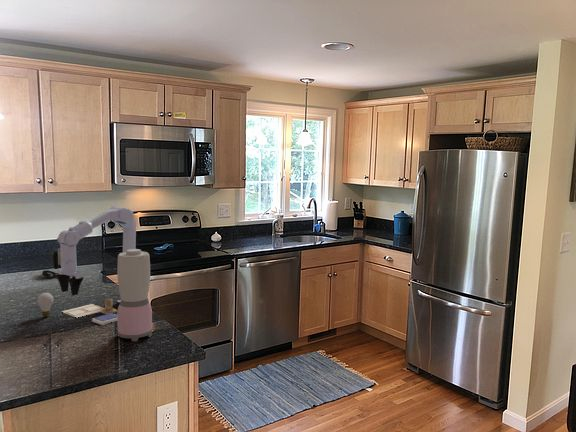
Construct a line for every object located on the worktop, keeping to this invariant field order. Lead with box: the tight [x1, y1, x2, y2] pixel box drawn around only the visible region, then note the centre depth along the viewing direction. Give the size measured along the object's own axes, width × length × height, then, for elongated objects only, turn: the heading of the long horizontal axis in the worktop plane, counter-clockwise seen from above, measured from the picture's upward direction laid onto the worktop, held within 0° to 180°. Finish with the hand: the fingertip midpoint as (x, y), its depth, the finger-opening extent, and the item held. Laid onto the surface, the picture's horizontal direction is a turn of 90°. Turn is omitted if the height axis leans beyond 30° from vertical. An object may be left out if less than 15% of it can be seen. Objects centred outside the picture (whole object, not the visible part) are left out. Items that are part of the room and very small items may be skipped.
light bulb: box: [36, 292, 54, 318], centre depth 191 cm, size 6×6×10 cm
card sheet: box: [61, 303, 105, 319], centre depth 200 cm, size 14×12×1 cm
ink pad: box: [91, 313, 117, 326], centre depth 189 cm, size 9×7×2 cm
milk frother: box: [41, 247, 61, 279], centre depth 259 cm, size 14×16×15 cm
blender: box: [116, 248, 153, 342], centre depth 172 cm, size 16×12×32 cm
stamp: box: [100, 298, 118, 315], centre depth 198 cm, size 4×4×6 cm
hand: (69, 293), depth 191 cm, fingers open, 7 cm apart
